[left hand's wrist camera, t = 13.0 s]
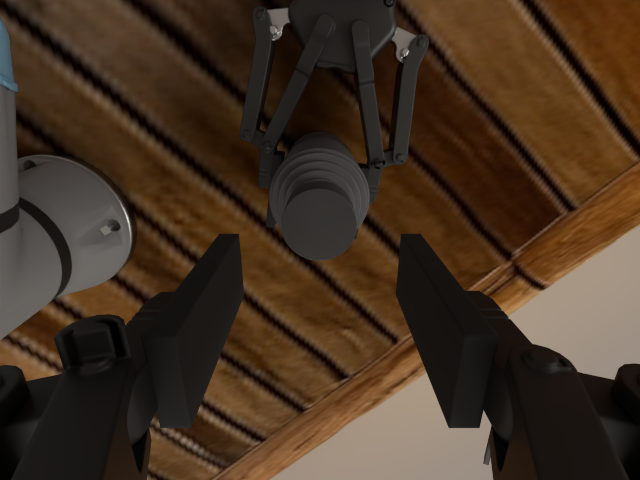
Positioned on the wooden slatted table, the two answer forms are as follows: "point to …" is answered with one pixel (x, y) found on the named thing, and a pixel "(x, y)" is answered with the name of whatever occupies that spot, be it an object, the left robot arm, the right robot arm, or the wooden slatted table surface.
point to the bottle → (319, 172)
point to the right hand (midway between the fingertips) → (311, 227)
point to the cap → (319, 220)
